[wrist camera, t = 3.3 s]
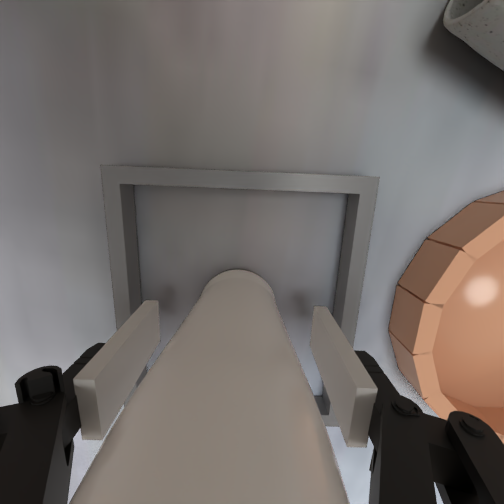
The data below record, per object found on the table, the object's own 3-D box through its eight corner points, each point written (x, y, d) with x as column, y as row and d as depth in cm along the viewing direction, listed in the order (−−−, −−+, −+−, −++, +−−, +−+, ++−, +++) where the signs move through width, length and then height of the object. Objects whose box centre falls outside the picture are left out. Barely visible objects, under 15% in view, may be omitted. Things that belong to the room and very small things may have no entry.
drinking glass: (190, 255, 18) (-69, 553, 3) (287, 258, 18) (440, 560, 4) (192, 341, 20) (27, 787, 5) (282, 343, 20) (369, 789, 5)
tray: (116, 166, 16) (100, 164, 15) (366, 177, 17) (379, 176, 15) (136, 400, 21) (125, 420, 19) (333, 406, 21) (340, 426, 19)
